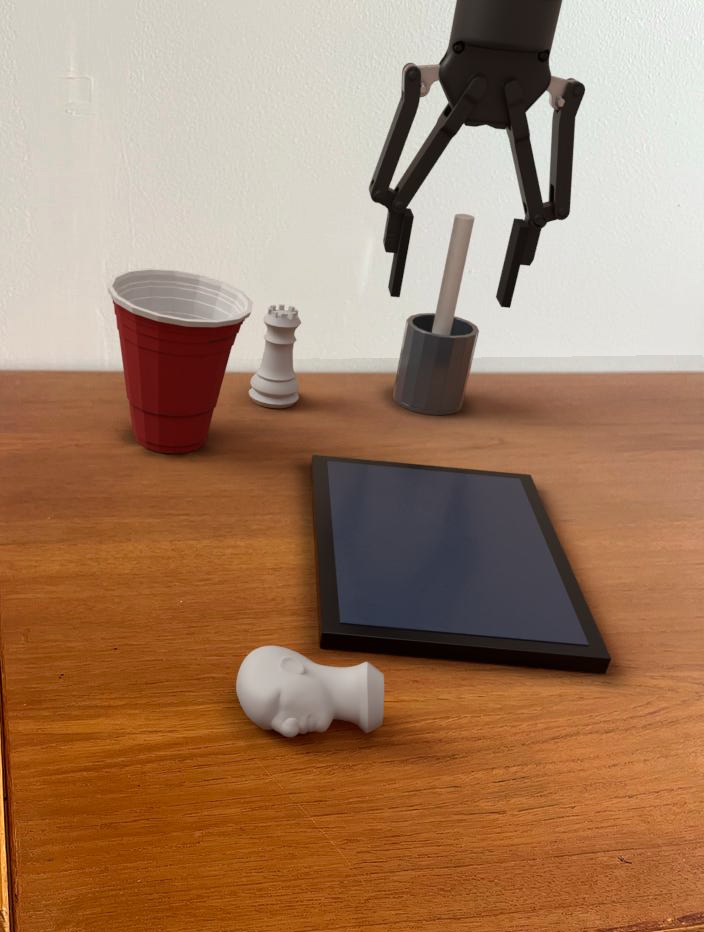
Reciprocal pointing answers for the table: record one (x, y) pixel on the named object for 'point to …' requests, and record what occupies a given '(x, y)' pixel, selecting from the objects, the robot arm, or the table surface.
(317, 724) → the white mannequin head
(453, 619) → the tablet
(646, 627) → the table surface
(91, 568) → the table surface
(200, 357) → the plastic cup
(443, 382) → the pen pot
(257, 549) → the table surface
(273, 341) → the rook chess piece
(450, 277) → the stylus
